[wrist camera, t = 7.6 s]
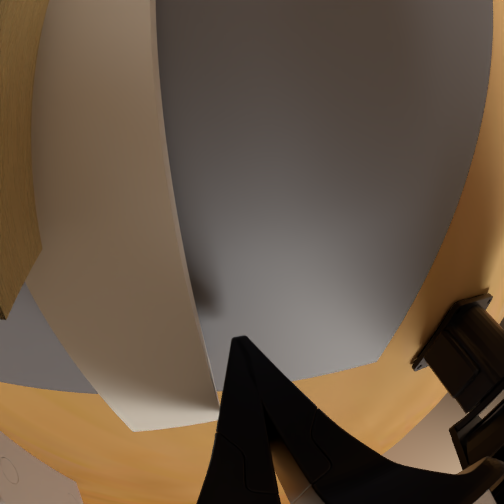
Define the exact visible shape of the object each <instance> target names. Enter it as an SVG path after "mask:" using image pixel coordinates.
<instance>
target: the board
mask: <svg viewBox="0 0 504 504" xmlns="http://www.w3.org/2000/svg"><path fill="white" fill-rule="evenodd" d="M156 30H157V49H158V64H159V76H160V88H161V98H162V108H163V117H164V126H165V134H166V142H167V150H168V157H169V164H170V171H171V178H172V185H173V191H174V197H175V203H176V209H177V215H178V221H179V226H180V232H181V237H182V242H183V248H184V253H185V258H186V263H187V268H188V273H189V277H190V282H191V287H192V291H193V296H194V300H195V305H196V309H197V313H198V318H199V322H200V326H201V330H202V334H203V338H204V342H205V346H206V350H207V354H208V358H209V361H210V366H211V370H212V375H213V379H214V383H215V387H216V391H223V386H224V380H225V374H226V368H227V362H228V357H229V351H230V345H231V339H232V338H233V337H237V336H243V335H246V336H247V337H248V338H249V339H250V340H251V341H252V342H253V343H254V344H255V345H256V346H257V347H258V348H259V349H260V350H261V351H262V352H263V353H264V354H265V355H266V356H267V358H268V359H269V360H270V361H271V362H272V363H273V364H274V365H275V366H276V367H277V368H278V369H279V370H280V371H281V372H282V373H283V374H284V375H285V376H286V377H287V378H288V379H289V380H290V381H296V380H301V379H306V378H311V377H316V376H321V375H325V374H330V373H334V372H339V371H343V370H347V369H351V368H355V367H359V366H363V365H366V364H370V363H374V362H377V360H378V359H379V357H380V356H381V354H382V353H383V351H384V350H385V348H386V347H387V345H388V343H389V342H390V340H391V339H392V337H393V336H394V334H395V332H396V331H397V329H398V327H399V326H400V324H401V322H402V321H403V319H404V317H405V316H406V314H407V312H408V310H409V309H410V307H411V305H412V303H413V301H414V299H415V298H416V296H417V294H418V292H419V290H420V288H421V286H422V284H423V282H424V280H425V278H426V276H427V274H428V272H429V270H430V268H431V266H432V264H433V262H434V260H435V258H436V256H437V253H438V251H439V249H440V247H441V245H442V242H443V240H444V238H445V235H446V233H447V230H448V228H449V226H450V223H451V221H452V218H453V215H454V213H455V210H456V207H457V205H458V202H459V199H460V196H461V194H462V191H463V188H464V185H465V182H466V178H467V175H468V172H469V169H470V165H471V162H472V158H473V155H474V151H475V147H476V144H477V140H478V135H479V131H480V127H481V122H482V117H483V113H484V107H485V102H486V96H487V89H488V83H489V75H490V66H491V55H492V39H493V0H156ZM0 382H5V383H10V384H15V385H21V386H27V387H34V388H41V389H49V390H57V391H67V392H78V393H92V394H98V392H97V391H96V390H95V389H94V387H93V386H92V385H91V384H90V382H89V381H88V380H87V379H86V377H85V376H84V375H83V373H82V372H81V371H80V370H79V368H78V367H77V365H76V364H75V363H74V361H73V360H72V359H71V357H70V356H69V354H68V353H67V352H66V350H65V349H64V347H63V346H62V344H61V343H60V341H59V340H58V338H57V337H56V335H55V334H54V332H53V330H52V329H51V327H50V326H49V324H48V322H47V321H46V319H45V317H44V316H43V314H42V312H41V311H40V309H39V307H38V305H37V304H36V302H35V300H34V298H33V296H32V295H31V293H30V291H29V289H28V287H27V285H26V283H25V282H24V284H23V286H22V288H21V290H20V292H19V294H18V296H17V298H16V300H15V302H14V304H13V306H12V309H11V311H10V313H9V315H8V318H7V320H1V319H0Z"/></svg>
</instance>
